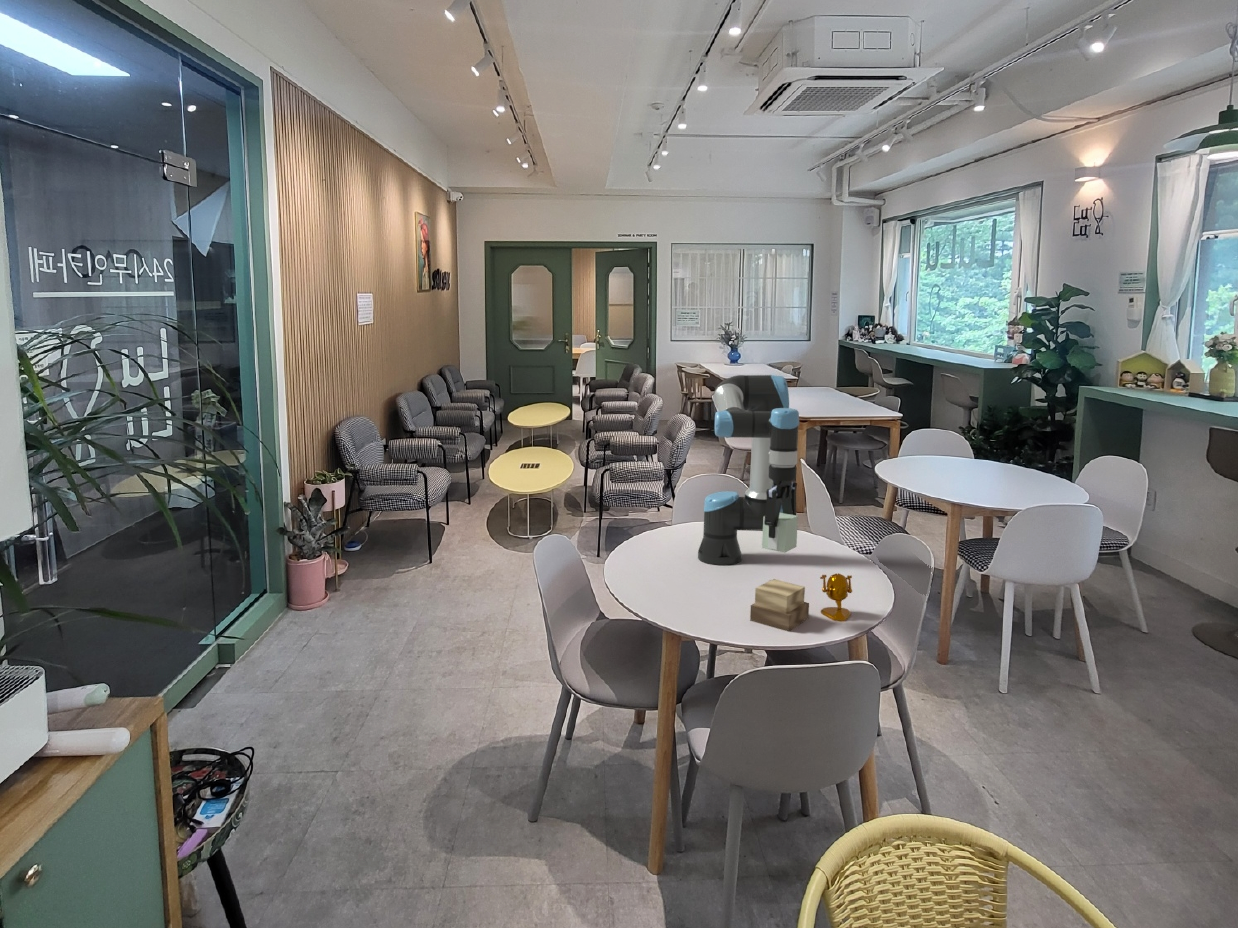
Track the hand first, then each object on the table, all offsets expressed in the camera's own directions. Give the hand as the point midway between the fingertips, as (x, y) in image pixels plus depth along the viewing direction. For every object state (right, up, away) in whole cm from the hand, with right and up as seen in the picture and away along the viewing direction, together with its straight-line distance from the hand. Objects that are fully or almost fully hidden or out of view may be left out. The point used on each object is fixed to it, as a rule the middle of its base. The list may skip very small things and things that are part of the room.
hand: (779, 545), depth 228 cm
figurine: (+18, -21, +8) cm, 29 cm away
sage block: (0, -1, 0) cm, 1 cm away
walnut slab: (+1, -22, +4) cm, 22 cm away
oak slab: (+1, -17, +3) cm, 17 cm away
